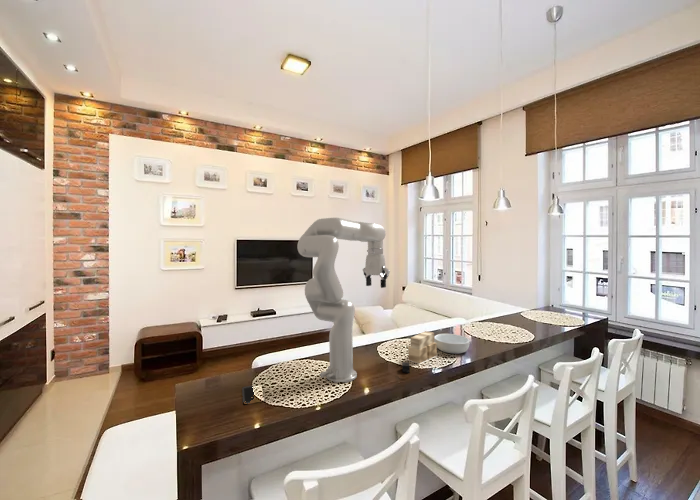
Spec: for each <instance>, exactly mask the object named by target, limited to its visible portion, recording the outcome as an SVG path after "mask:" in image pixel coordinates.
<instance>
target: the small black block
mask: <svg viewBox="0 0 700 500" xmlns="http://www.w3.org/2000/svg"><path fill="white" fill-rule="evenodd" d="M401 365H402V367H401V369H402V374H410V373H411V372H410V362H407V361H405V362H404V361H402V364H401Z"/></svg>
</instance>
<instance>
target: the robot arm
mask: <svg viewBox="0 0 700 500" xmlns="http://www.w3.org/2000/svg"><path fill="white" fill-rule="evenodd" d="M385 237H386V229H385V228H384V226H383V225H381V224H378V223H372V222H371V223H370V222H363V221H355V220H349V219H346V218H341V217H323V218H318V219H317V220H314V222H313V223H311V224H310V225H309V227H308V228H307V229H306V230H305V232H304V233H303V234H302V235H301V236H300V238H299V239H298V242H297V251H298V254H299V255H300V256H302V257H305V258H317V260H316V262H315V264H314V266H313V269H312V276H313V278H310V279H309V280H307V282H306V283H305V286H304V296H305V299H306V301H307V303H308V305H309V307H310V308H311V311H312V313H313V314H314V316H315V317H316V318H317V319H318V320H320V321H324V322H329V323H330V322H331V323H333V326H332V327H331V328H330V331H329V334H328V335H329V337H328V339H329V340H328V342H329V343H328V345H329V366H327V369H326V370H325V371H322V372H319V373H320V374H319V375H320V377H321V378H325V377H326V379H327V380H328V381H330V380H331V381H330V382H332V381H333V382H332V383H337V382H345V383H349V381H350V382H351V381H354V380H355V379H356V378H357V376H358V375H357V374H358V373H357V371H356V370H355V369H354V363H353V362H354V360H353V359H354V356H353V355H354V354H353V353H354V352H353V351H354V350H353V349H354V348H353V347H354V345H353V338H354V337H353V335H354V334H353V333H354V332H353V327H354V317H355V312H356V310H355V306H354V303H352V301H350V300H347V299H344V298H343V297H344V290H343V287H342V284H341V282H340V280H339V277H338V275H337V272H336V269H335V263H336V262H335V261H336V259H337V256H338V252H339V248H340V247H339V241H338V240H345V241H349V242H352V241H353V242H354V241H355V242H361V243H366V242H367V250H366V252H367V254H366V258H365V266H364V267H363V268H362V272H363V276H364V278H365V281H366V282H365V286H366V287H370V286H372V277H371V276H379V278H381V279H380V288H381V289H383V288H386V287H387V279H388V277H390V276H389V275H390V272H391V270H390V269H389V268H387V267H386V259H385V255H384V239H385Z"/></svg>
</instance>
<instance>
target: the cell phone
mask: <svg viewBox="0 0 700 500" xmlns="http://www.w3.org/2000/svg"><path fill="white" fill-rule="evenodd" d="M252 387H253V386H252V385H247V386H243V387H241V388H242V389H241V392H242V396H243V397H242V396H241V397H242V403H243V402H245V401H246V402H245V403H247V404H248V403H250V401H251V400H253V399H254V396H253V395H254V392H253V388H252ZM251 397H253V398H251Z"/></svg>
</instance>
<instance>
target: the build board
mask: <svg viewBox="0 0 700 500" xmlns="http://www.w3.org/2000/svg"><path fill="white" fill-rule="evenodd" d="M438 356H439V355H438V354H437V356H435V357H432V358H430V359H429V358H427V360H426V361H424V362H422V363H417V362H414V361H411V360H409V358H408V359H407V361H409V362H412V363H415V364H418V365H421V364H423V363H425V362H429V360H432V359H435V358H437V357H438Z"/></svg>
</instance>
